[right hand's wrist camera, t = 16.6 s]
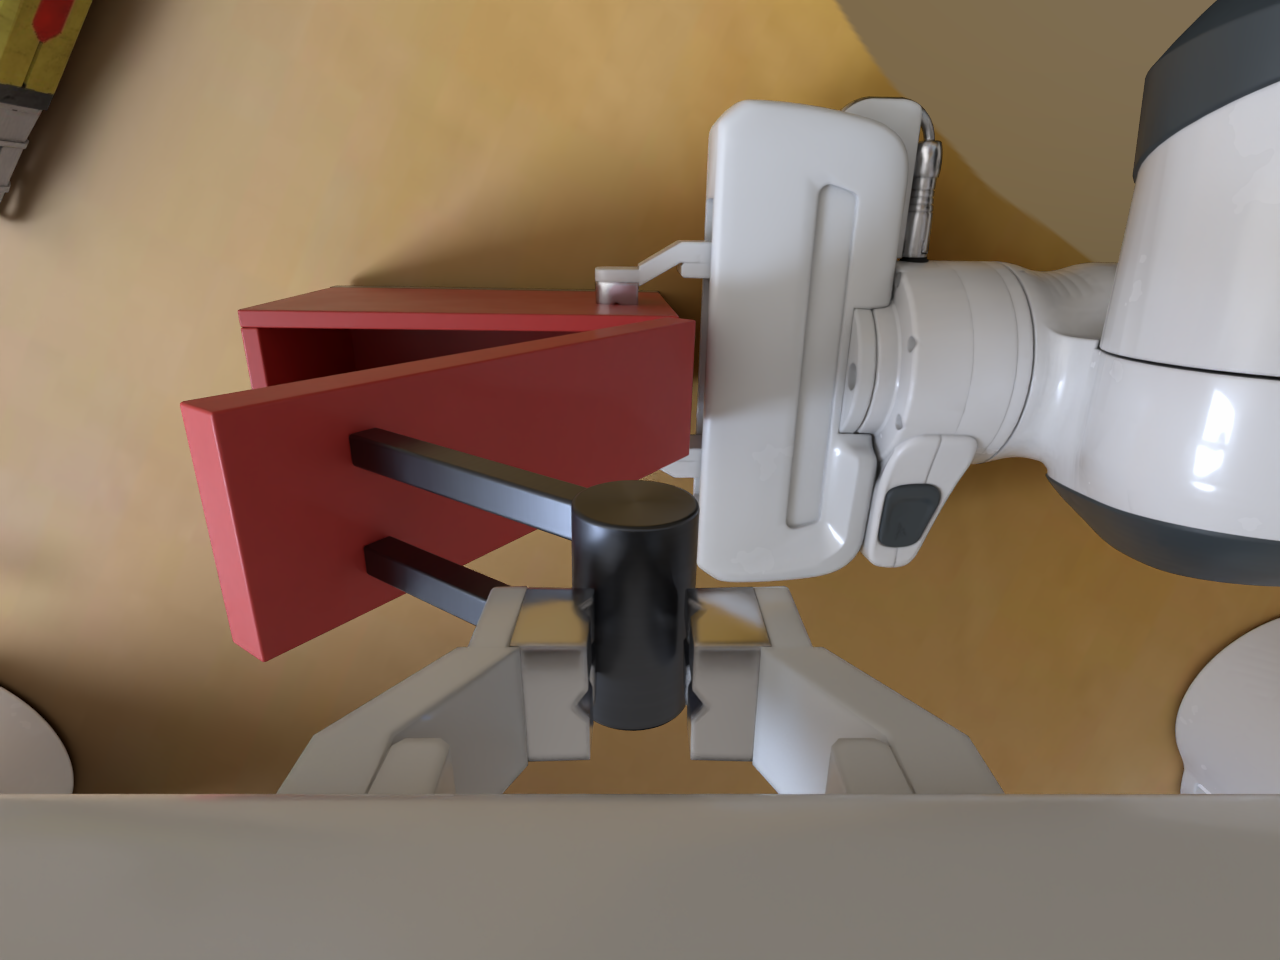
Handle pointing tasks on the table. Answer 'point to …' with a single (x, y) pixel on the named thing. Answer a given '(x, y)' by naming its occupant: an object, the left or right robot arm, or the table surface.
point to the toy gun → (31, 67)
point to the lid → (464, 494)
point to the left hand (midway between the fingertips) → (596, 362)
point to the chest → (414, 325)
